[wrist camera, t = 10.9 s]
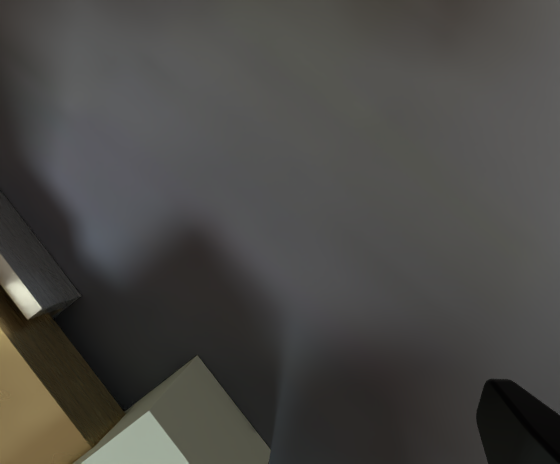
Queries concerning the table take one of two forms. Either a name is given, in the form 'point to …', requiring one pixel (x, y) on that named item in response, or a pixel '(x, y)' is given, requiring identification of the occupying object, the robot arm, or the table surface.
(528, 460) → the robot arm
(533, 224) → the table surface
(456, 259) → the table surface
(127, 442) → the socket block
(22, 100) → the table surface
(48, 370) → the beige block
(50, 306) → the u-shaped channel
